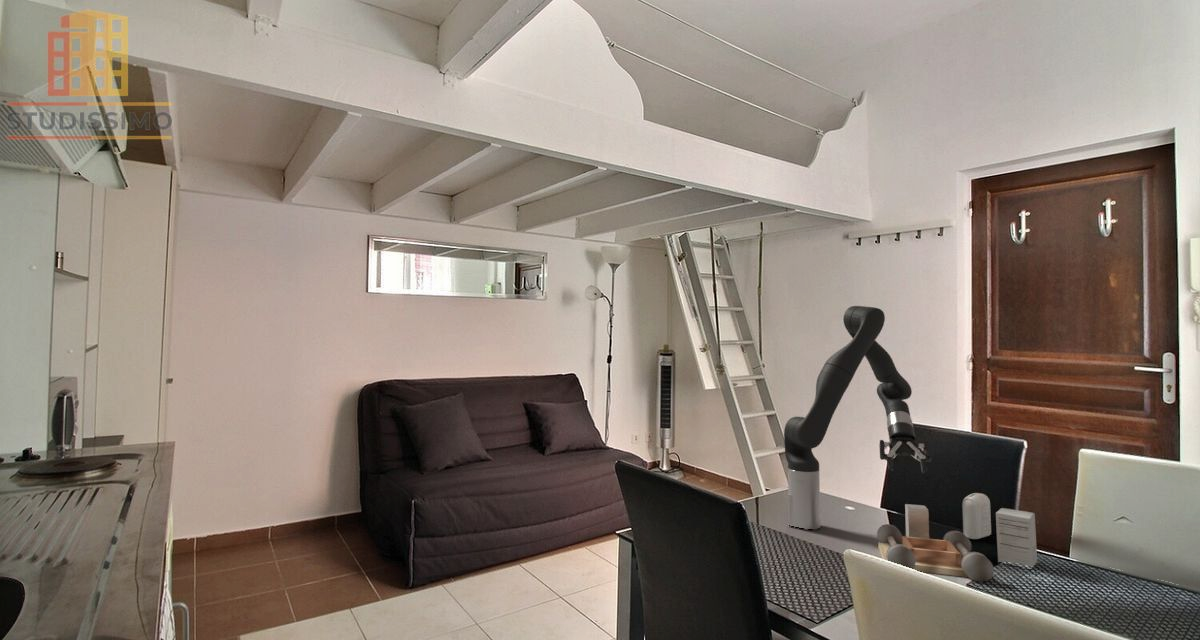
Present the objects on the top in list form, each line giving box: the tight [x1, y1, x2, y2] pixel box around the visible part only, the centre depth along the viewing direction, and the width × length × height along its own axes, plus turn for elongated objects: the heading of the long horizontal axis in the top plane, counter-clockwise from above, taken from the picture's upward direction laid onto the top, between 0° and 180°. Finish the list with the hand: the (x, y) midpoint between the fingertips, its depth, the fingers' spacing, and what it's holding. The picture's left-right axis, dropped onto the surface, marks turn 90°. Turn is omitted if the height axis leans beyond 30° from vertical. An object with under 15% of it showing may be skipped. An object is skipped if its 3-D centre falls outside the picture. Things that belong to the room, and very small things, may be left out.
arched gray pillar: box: [962, 492, 992, 540], centre depth 167 cm, size 10×4×12 cm, turn 123°
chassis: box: [876, 523, 995, 583], centre depth 144 cm, size 22×21×6 cm
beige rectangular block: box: [904, 503, 930, 539], centre depth 160 cm, size 5×5×10 cm
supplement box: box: [995, 507, 1038, 566], centre depth 145 cm, size 7×7×13 cm
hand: (908, 470), depth 173 cm, fingers open, 8 cm apart
